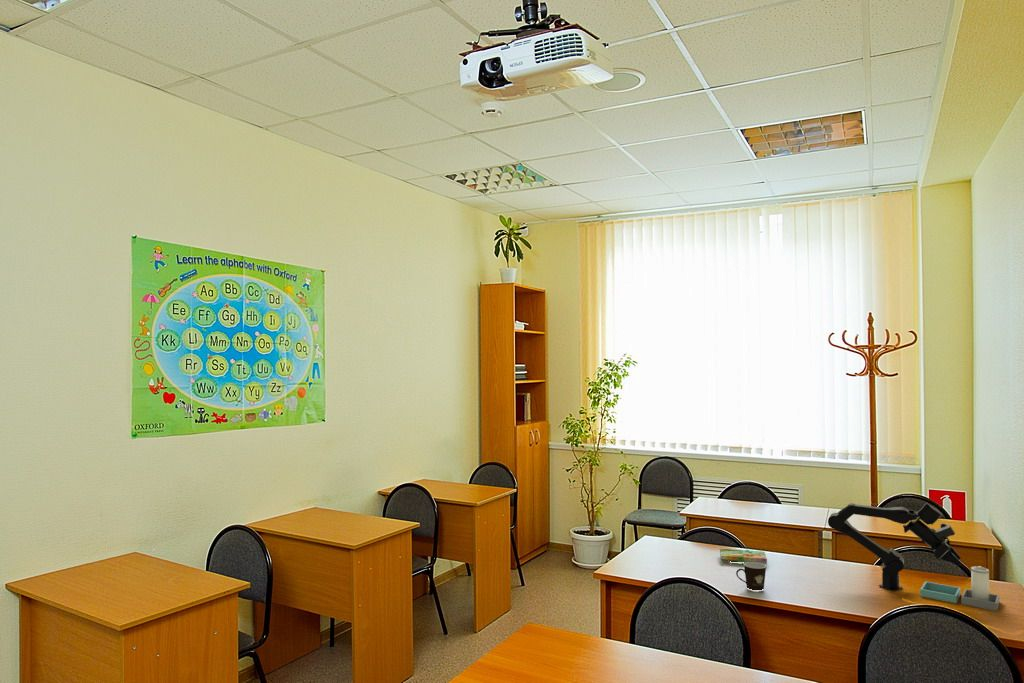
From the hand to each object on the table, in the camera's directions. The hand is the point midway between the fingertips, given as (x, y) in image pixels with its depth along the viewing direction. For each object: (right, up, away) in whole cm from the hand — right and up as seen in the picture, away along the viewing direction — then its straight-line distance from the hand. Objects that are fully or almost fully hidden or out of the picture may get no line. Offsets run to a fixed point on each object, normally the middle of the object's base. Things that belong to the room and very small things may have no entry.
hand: (960, 561), depth 267 cm
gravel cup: (+3, -13, -7) cm, 16 cm away
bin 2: (+3, -14, -7) cm, 16 cm away
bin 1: (-7, -14, +1) cm, 16 cm away
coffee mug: (-79, -15, +11) cm, 81 cm away
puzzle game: (-69, -16, +48) cm, 86 cm away
